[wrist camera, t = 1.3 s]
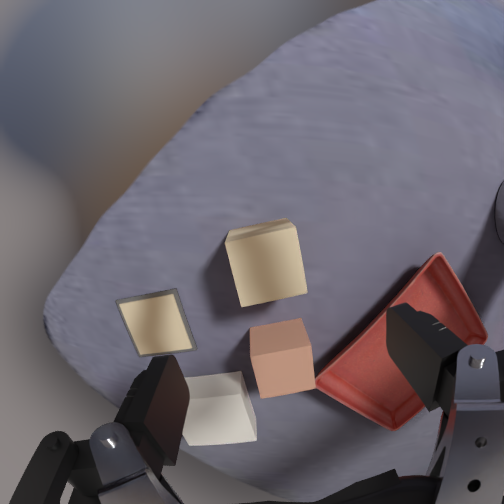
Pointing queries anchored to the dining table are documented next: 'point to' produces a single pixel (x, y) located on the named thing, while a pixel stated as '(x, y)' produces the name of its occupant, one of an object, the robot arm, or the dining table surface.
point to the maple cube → (266, 262)
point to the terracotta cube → (282, 358)
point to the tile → (157, 323)
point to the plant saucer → (376, 355)
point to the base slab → (219, 410)
